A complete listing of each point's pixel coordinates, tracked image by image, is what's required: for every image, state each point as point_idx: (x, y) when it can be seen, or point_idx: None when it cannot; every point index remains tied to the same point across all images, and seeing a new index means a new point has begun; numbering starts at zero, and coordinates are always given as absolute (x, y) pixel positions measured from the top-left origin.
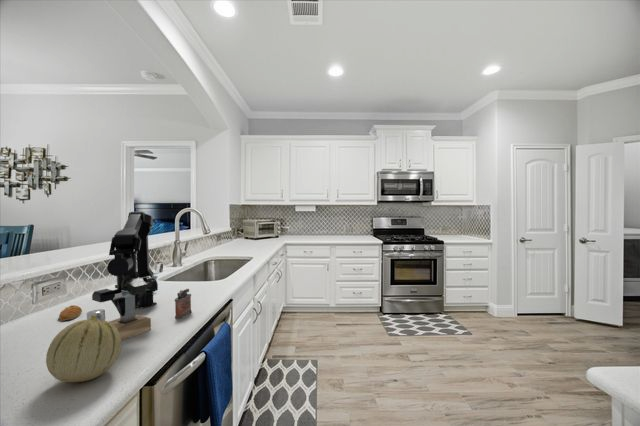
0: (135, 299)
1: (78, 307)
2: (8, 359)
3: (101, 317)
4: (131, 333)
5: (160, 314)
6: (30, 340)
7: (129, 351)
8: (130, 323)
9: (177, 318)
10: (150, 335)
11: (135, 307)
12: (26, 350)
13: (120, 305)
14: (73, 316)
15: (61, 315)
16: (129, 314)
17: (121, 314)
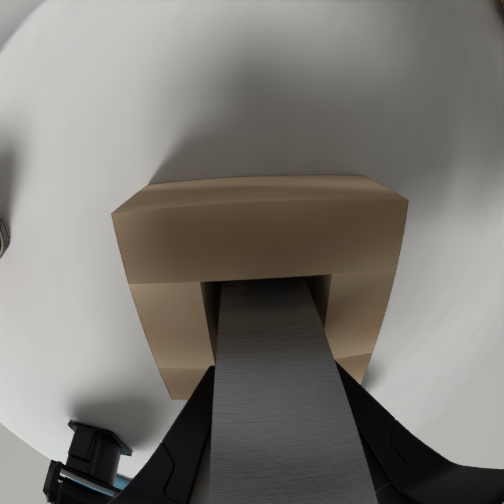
0: (191, 500)
1: None
2: (499, 340)
3: None
4: (298, 179)
5: (57, 347)
6: (416, 416)
7: (400, 2)
8: (299, 242)
9: (2, 221)
10: (205, 77)
11: (197, 405)
12: (465, 367)
13: (410, 445)
14: None
15: None
16: (283, 344)
17: (343, 373)
